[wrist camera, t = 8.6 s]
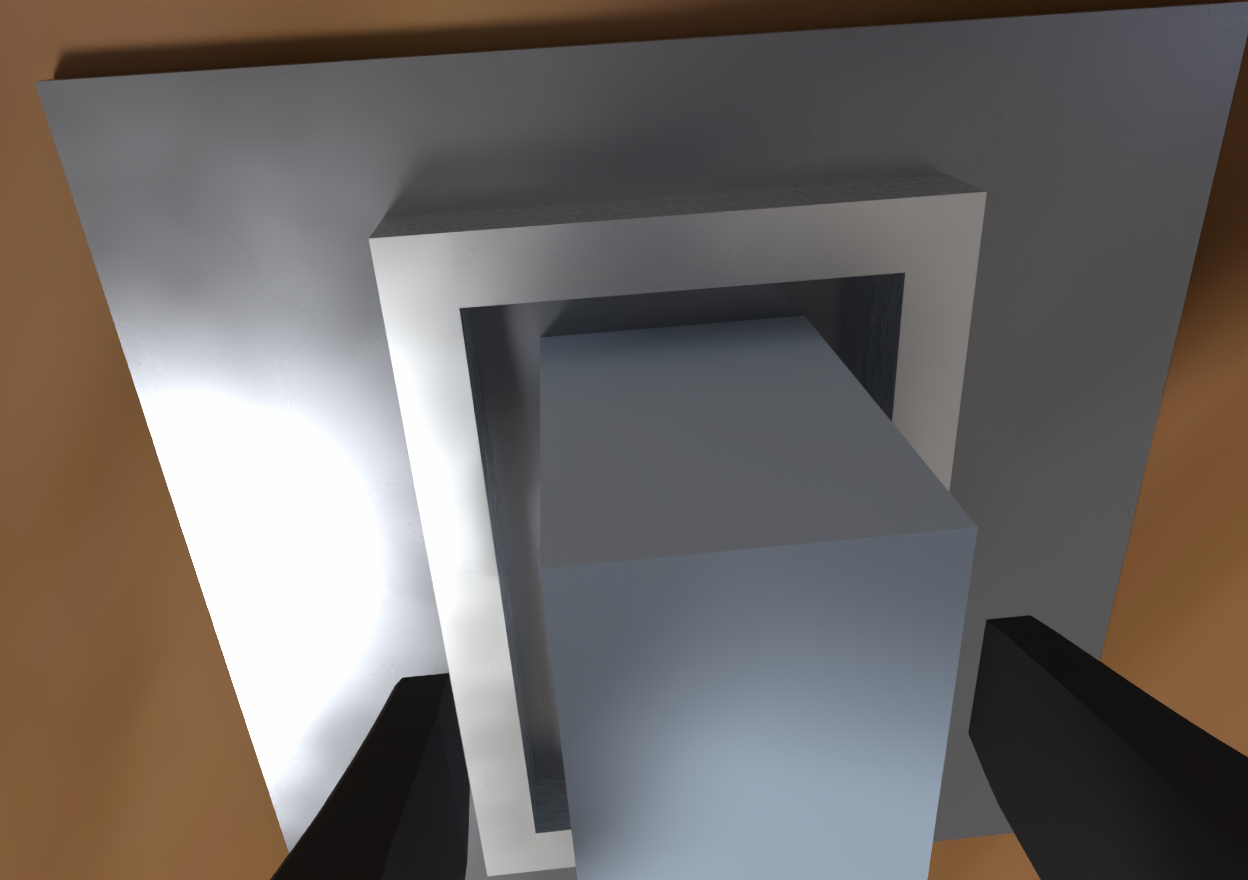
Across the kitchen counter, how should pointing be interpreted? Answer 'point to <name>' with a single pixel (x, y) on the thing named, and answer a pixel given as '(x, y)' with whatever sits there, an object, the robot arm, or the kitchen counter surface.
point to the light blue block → (743, 608)
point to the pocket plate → (629, 327)
